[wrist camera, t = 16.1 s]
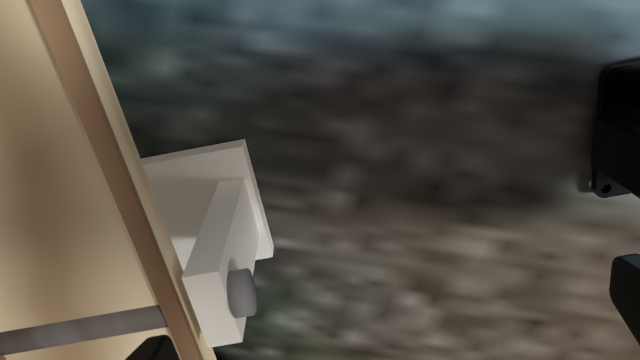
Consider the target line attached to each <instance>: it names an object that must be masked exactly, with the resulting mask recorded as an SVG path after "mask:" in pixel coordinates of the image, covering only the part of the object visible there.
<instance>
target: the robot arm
mask: <svg viewBox="0 0 640 360" xmlns="http://www.w3.org/2000/svg"><path fill="white" fill-rule="evenodd" d="M614 73H616V78H615V79H614V80H613V81H610V79H611V76H612V75H613V74H614ZM591 166H592V167H593V171H592V185H591V188H592V191H593V192H594V193H595V194H596V195H597V196H599V197H601V198H607V197H612V196H618V195H624V194H629V193H632V194H634V195H635V196H637V197H638V198H640V60H637V61H631V62H626V63H621V64H616V65H611V66H608V67H606V68H605V69H604V70H603V71H602V73H601V74H600V78H599V89H598V103H597V115H596V116H595V118H594V127H593V141H592V155H591ZM606 184H607V185H606ZM604 185H606V187H605V188H604V189H602V190H601V188H602V187H603V186H604ZM609 292H610V297H611V300H612V302H613V304H614V305H615V307H616V308H617V310H618V312H619V313H620V315H621V316H622V318H623V320H624V321H625V323H626V324H627V326H628V328H629V329H630V331H631V332H632V334H633V335H634V337H635V339H636V340H637V342H638V343H639V345H640V254H629V255H623V256H618V257H616V258H614V260H613V262H612V268H611V278H610V287H609ZM125 360H180V358H179V356H178V354H177V351H176V349H175V347H174V344H173V342H172V340H171V338H170V337H169V336H168V335H165V334H164V335H158V336H152V337H149V338H147V339H146V340H144V341H143V342H142V343H141V344H140V345H139V346H138V347H137V348H136V349H135V350H134V351H133V352H132V353H131V354H130V355H129V356H128V357H127V358H126V359H125Z"/></svg>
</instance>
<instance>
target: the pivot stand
mask: <svg viewBox="0 0 640 360" xmlns="http://www.w3.org/2000/svg"><path fill="white" fill-rule="evenodd" d="M141 162H142V164H143V167H144V169H145V172H146V175H147V177H148V180H149V183H150V185H151V188H152V190H153V193H154V196H155V198H156V201H157V204H158V206H159V209H160V212H161V214H162V217H163V219H164V222H165V225H166V227H167V230H168V233H169V235H170V238H171V240H172V243H173V246H174V248H175V251H176V254H177V256H178V259H179V262H180V264H181V267H182V269H183V275H182V277H181V278H182V281H183V284H184V286H185V289H186V291H187V294H188V297H189V299H190V302H191V304H192V307H193V310H194V312H195V315H196V317H197V320H198V323H199V325H200V328H201V330H202V333H203V336H204V338H205V341H206V343H207V346H208V348H210V347H216V346H222V345H228V344H234V343H240V342H242V340H243V334H244V328H245V322H246V317H248V316H254V315H255V313H256V307H257V299H256V289H255V284H254V279H253V271H254V265H255V260H259V259H264V258H270V257H273V249H274V245H273V241H272V238H271V234H270V230H269V227H268V223H267V219H266V216H265V212H264V208H263V204H262V201H261V197H260V193H259V190H258V186H257V182H256V178H255V175H254V171H253V167H252V164H251V160H250V156H249V152H248V149H247V145H246V141H245V139H241V140H236V141H231V142H226V143H220V144H215V145H210V146H204V147H199V148H194V149H189V150H183V151H178V152H173V153H167V154H162V155H157V156H152V157H146V158H141Z"/></svg>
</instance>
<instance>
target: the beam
mask: <svg viewBox="0 0 640 360" xmlns="http://www.w3.org/2000/svg"><path fill="white" fill-rule="evenodd" d="M182 275H183V269H182V267H181V264H180V262H179V259H178V256H177V254H176V251H175V248H174V246H173V243H172V240H171V238H170V235H169V233H168V230H167V227H166V225H165V222H164V219H163V217H162V214H161V212H160V209H159V206H158V204H157V201H156V198H155V196H154V193H153V190H152V188H151V185H150V183H149V180H148V177H147V175H146V172H145V169H144V167H143V164H142V162H141V159H140V156H139V154H138V151H137V148H136V146H135V143H134V140H133V138H132V135H131V133H130V130H129V127H128V125H127V122H126V119H125V117H124V114H123V112H122V109H121V106H120V104H119V101H118V98H117V96H116V93H115V90H114V88H113V85H112V83H111V80H110V77H109V75H108V72H107V69H106V67H105V64H104V62H103V59H102V56H101V54H100V51H99V48H98V46H97V43H96V40H95V38H94V35H93V33H92V30H91V27H90V25H89V22H88V19H87V17H86V14H85V12H84V9H83V6H82V4H81V1H80V0H0V360H125V359H126V358H127V357H128V356H129V355H130V354H131V353H132V352H133V351H134V350H135V349H136V348H137V347H138V346H139V345H140V344H141V343H142V342H143V341H144V340H146V339H147V338H149V337H152V336H158V335H164V334H165V335H168V336H169V337H170V338H171V340H172V342H173V344H174V347H175V349H176V351H177V354H178V356H179V358H180V360H217V359H216V356H215V354H214V351H213V348H212V347H210V348H208V346H207V343H206V341H205V338H204V336H203V333H202V330H201V328H200V325H199V323H198V320H197V317H196V315H195V312H194V310H193V307H192V304H191V302H190V299H189V297H188V294H187V291H186V289H185V286H184V284H183V281H182V278H181V277H182Z"/></svg>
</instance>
